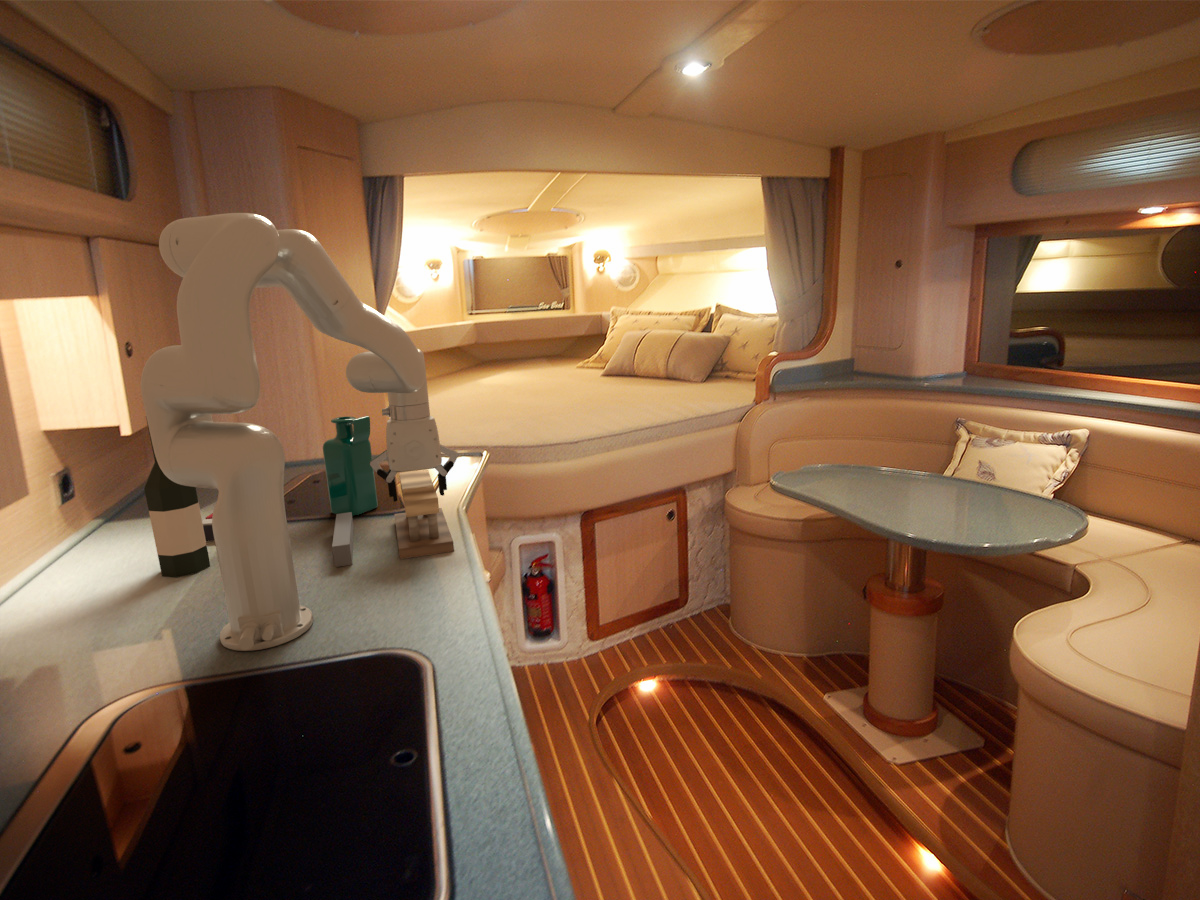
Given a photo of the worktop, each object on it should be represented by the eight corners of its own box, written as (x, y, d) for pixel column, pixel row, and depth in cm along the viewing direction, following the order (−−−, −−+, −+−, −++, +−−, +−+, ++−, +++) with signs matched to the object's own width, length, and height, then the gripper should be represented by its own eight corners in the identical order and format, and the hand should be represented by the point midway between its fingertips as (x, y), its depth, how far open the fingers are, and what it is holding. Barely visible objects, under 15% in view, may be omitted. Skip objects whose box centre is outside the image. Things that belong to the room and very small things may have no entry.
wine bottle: (151, 579, 123) (117, 415, 116) (172, 561, 131) (141, 407, 124) (201, 575, 124) (170, 412, 117) (218, 557, 132) (190, 404, 125)
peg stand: (454, 550, 131) (450, 511, 129) (400, 559, 128) (395, 518, 126) (442, 516, 151) (438, 481, 149) (395, 522, 148) (391, 487, 146)
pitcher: (327, 513, 156) (314, 419, 151) (354, 502, 163) (343, 412, 158) (359, 518, 152) (347, 421, 147) (386, 507, 159) (375, 414, 154)
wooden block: (439, 512, 128) (437, 497, 127) (406, 517, 126) (404, 501, 126) (429, 482, 148) (427, 469, 148) (400, 486, 147) (399, 472, 146)
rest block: (352, 564, 126) (349, 544, 125) (334, 567, 125) (332, 546, 124) (353, 529, 144) (351, 512, 144) (338, 532, 144) (336, 514, 143)
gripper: (363, 419, 127) (373, 508, 131) (457, 411, 132) (464, 496, 136) (363, 413, 134) (373, 497, 138) (452, 405, 139) (459, 486, 143)
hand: (418, 496), depth 137 cm, fingers open, 8 cm apart
